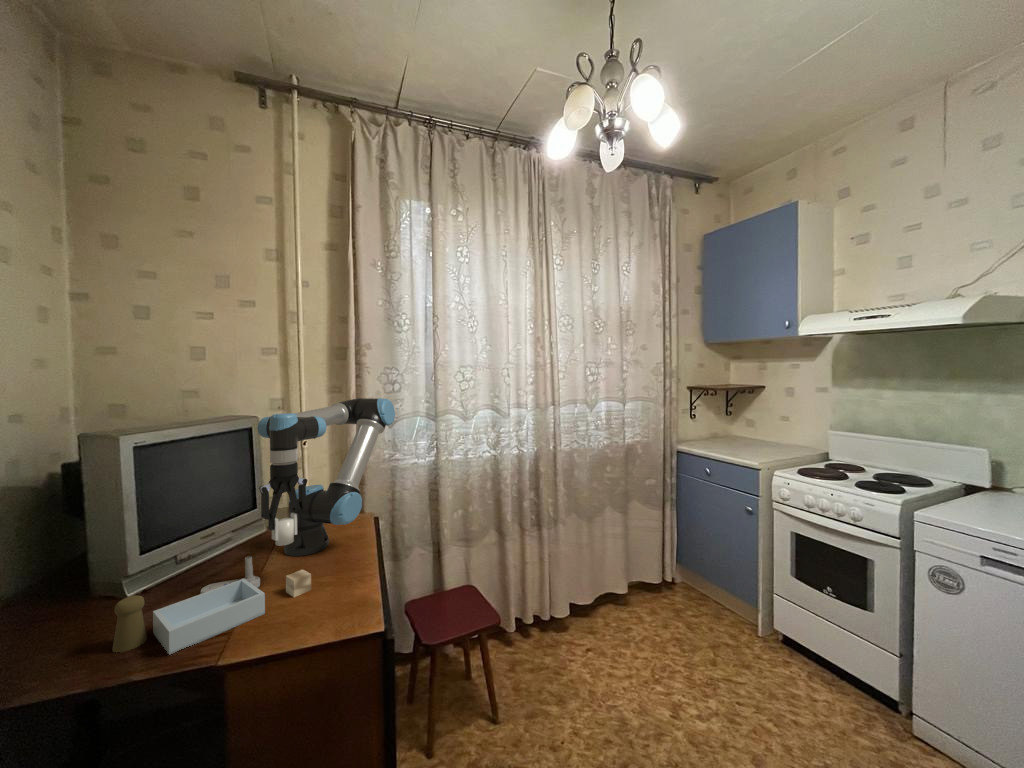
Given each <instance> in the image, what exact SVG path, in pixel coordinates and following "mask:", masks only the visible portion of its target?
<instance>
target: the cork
mask: <svg viewBox="0 0 1024 768" xmlns="http://www.w3.org/2000/svg"><path fill="white" fill-rule="evenodd" d="M144 606H145V599H144V597H143V596H142V595H131V596H128V597H124V598H122V599H121V600H119V601H118V602H117V603H116V604H115V606H114V611H113V612H114V614H115V615H116V617H117V621H116V624H115V632H114V637H113V643H112V649H111V650H112V653H115V652H116V653H117V652H120V653H125V652H128V651H131V649H132V650H133V649H134V650H135V649H136V648H138V647H140V646H142V645H143V644H145V643H146V641H147V640H148V636H147V630H146V625H145V621H144V620H145V619H144V614H143V610H142V609H143V607H144ZM141 644H142V645H141ZM117 654H118V653H117Z"/></svg>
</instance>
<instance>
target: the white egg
mask: <svg viewBox="0 0 1024 768" xmlns="http://www.w3.org/2000/svg"><path fill="white" fill-rule="evenodd" d="M277 519H278V540H277V541H275V546H277V547H278V546H279V547H281V546H282V547H284V545H288V544H291V543H293V542H294V518H291V517H289V516H288V517H283V518H277Z"/></svg>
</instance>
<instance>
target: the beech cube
mask: <svg viewBox="0 0 1024 768" xmlns="http://www.w3.org/2000/svg"><path fill="white" fill-rule="evenodd" d="M311 590H312V573H310V572H309V571H306V570H305V569H300V570H297V571H295V572H293V573H290V574H287V575H285V593H286V594H288V595H289V596H291V597H293V598H296V597H298V596H300V595H303V594H306V593H307V592H310V591H311Z"/></svg>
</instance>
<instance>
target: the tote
mask: <svg viewBox="0 0 1024 768" xmlns="http://www.w3.org/2000/svg"><path fill="white" fill-rule="evenodd" d="M240 579H241V580H238V581H236V582H233V583H230V584H227V585H225V586H222V587H219V588H216V589H213V590H211V591H208V592H205V593H202V594H198V595H197V594H196V595H195V596H192V597H189V598H186V599H184V600H180V601H178V602H175V603H172V604H169V605H166V606H163V607H162V608H158V609H156V610H152V632H153V633H152V634H153V635H154V636H155V638H156V639H157V641H158V642H159V643H161V644H160V646H161V647H162V648H163V647H164V648H163V649H164V651H165V650H166V651H167V652H166V651H165V652H166V653H167V655H168V654H169V655H171V654H173V653H175V652H177V651H179V650H181V649H184V648H186V647H189V646H191V647H193V646H195V645H197V643H198V644H199V643H202V642H204V641H206V640H209V639H211V638H214V637H216V636H218V635H220V634H222V633H225V632H227V631H229V630H231V629H234V628H236V627H239V626H241V625H242V624H246V623H247V622H250V621H252V620H254V619H256V618H258V617H261V616H263V615H265V614H266V593H265V592H264V591H262V590H261V589H259V587H258V588H257V587H255V586H254V585H253V584H251V583H250V582H248V581H247V580H245V579H242V578H240ZM194 644H195V645H194ZM192 645H193V646H192ZM189 648H190V647H189ZM186 649H187V648H186ZM184 650H185V649H184ZM177 653H178V652H177ZM175 654H176V653H175ZM169 655H168V656H169ZM173 655H174V654H173ZM171 656H172V655H171Z"/></svg>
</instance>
